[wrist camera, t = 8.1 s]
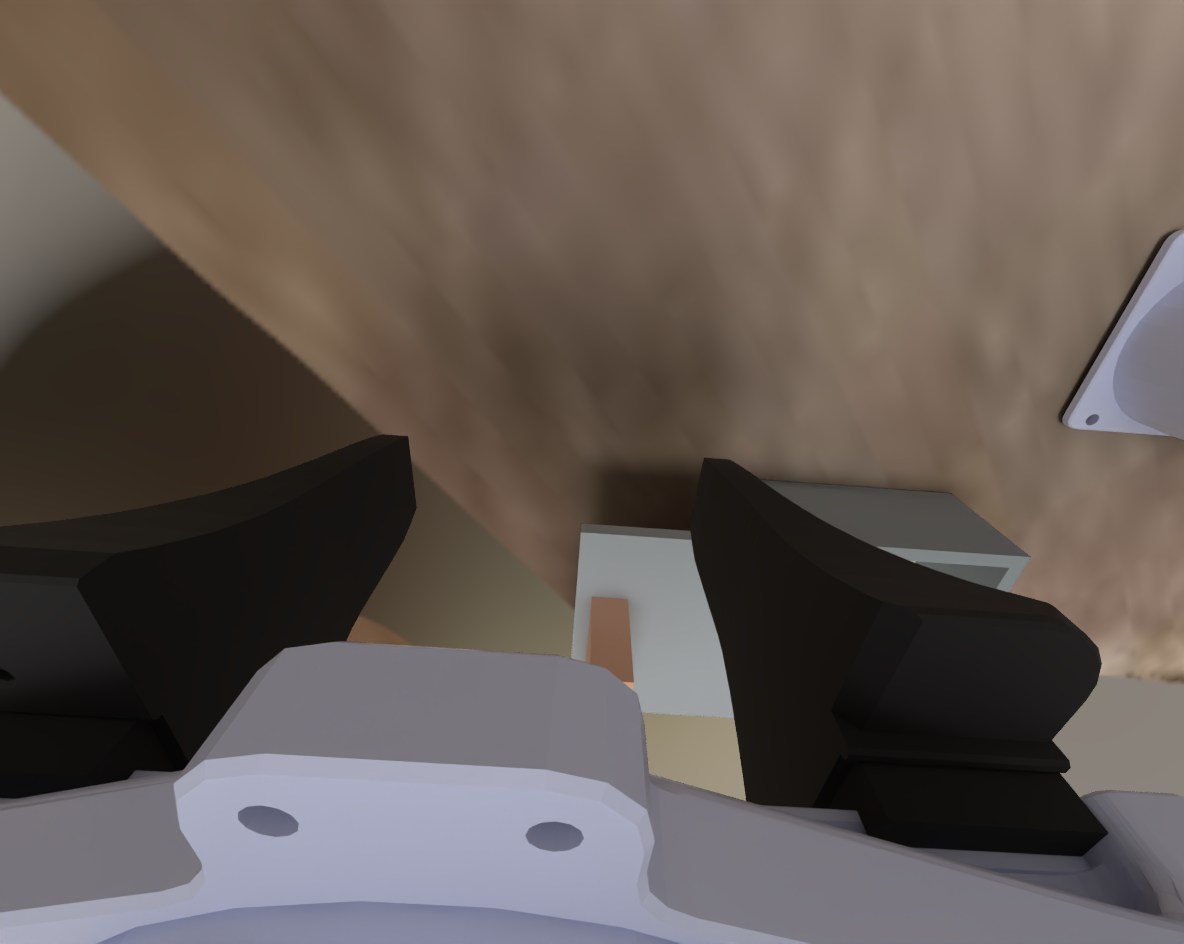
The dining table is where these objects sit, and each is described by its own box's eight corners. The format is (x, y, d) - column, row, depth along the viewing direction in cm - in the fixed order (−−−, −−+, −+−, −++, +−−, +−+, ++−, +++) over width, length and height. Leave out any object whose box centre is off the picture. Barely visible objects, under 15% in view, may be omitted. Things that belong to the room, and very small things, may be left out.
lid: (843, 541, 19) (908, 630, 15) (775, 709, 24) (811, 810, 20) (581, 523, 19) (576, 608, 15) (568, 696, 24) (561, 796, 20)
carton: (951, 493, 24) (1031, 557, 19) (878, 637, 29) (929, 714, 24) (751, 479, 24) (787, 540, 19) (712, 626, 28) (733, 702, 24)
